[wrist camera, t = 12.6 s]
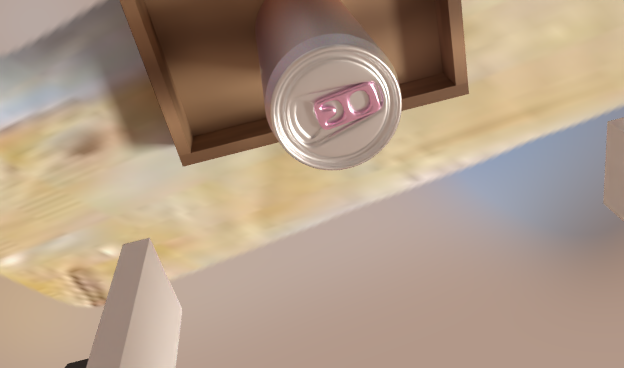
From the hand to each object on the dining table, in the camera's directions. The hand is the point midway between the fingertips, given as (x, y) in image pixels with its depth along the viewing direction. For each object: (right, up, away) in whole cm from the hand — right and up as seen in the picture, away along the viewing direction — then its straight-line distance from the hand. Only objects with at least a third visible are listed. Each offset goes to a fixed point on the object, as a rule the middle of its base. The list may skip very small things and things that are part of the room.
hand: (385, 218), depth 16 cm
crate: (-3, +12, +21) cm, 24 cm away
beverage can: (-3, +11, +21) cm, 24 cm away
